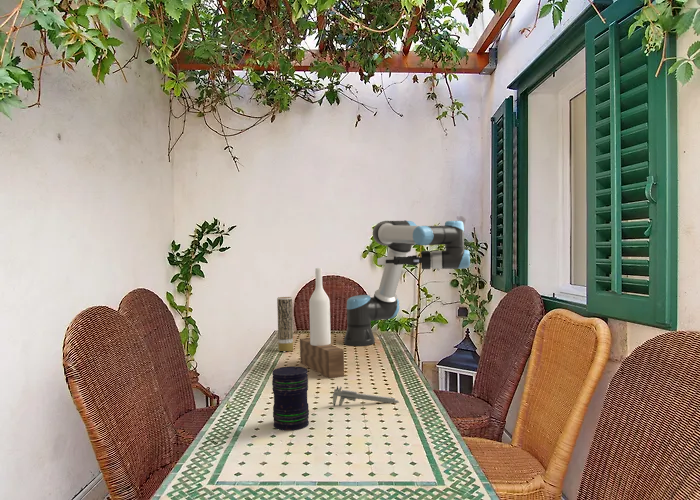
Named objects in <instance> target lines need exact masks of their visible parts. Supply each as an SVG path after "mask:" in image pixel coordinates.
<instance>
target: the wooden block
mask: <svg viewBox="0 0 700 500" xmlns="http://www.w3.org/2000/svg"><path fill="white" fill-rule="evenodd" d="M299 348H300V349H299V355H300V356H299V361H300V364H303V365H304V366H306V367H308V368H310V369H311V370H313V371H315V372H317V373H318V374H320V375H322V376H324V377H326V378H327V379H329V380H330V379H336V378H341V377H342V378H343V377H345V359H344V358H345V355H344V354H345V353H344V352H345V350H344V349H343V348H340V347H338V346H335V345H334V344H333V345H332V344H329V345H325V346H314V345H311V344H310V337H308V338H307V337H306V338H299Z"/></svg>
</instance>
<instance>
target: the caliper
mask: <svg viewBox="0 0 700 500" xmlns="http://www.w3.org/2000/svg"><path fill="white" fill-rule="evenodd" d="M338 397H340V398H339V401H338V406H339V407H341V406H342V405H343V403H344V401H345V399H347V400H348V401H354V402H356V400H357V399H358V400H365V401H372V402H373V401H374V402H378V403H380V402H381V403H388V404H394V403H400V401H399V400H398V399H396V398H394V397H387V396H383V395H382V396H379V395H372V394H366V393H358V392H357V391H353V390H346V389H342V386H340V387H339V386H338V385H336V389H335V388H334V390H333V393H332V405H333V407H336V404H337V400H338Z"/></svg>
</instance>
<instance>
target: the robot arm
mask: <svg viewBox="0 0 700 500" xmlns="http://www.w3.org/2000/svg"><path fill="white" fill-rule="evenodd" d="M464 227H465V226H464V222H463V221H462V220H448V221H445V223H444V225H417V224H416V223H415V222H414V221H412V220H383V221H380V222H378V223H377V224H376V225H375V226H374V227H373V230H372V237H373V240H374V241H375V242H376V243H377V244H378V245H381V246H387V248H388V251H387V252H388V253H387V256H380V257H378V258H377V265H378V266H384V267H383V272H382V276H381V279H380V283H379V286H378V289H376V290H375V291H374V295H373V296H370V295H369V294H359V295H353V296H351V297H348V298H347V301H346V321H347V322H346V323H347V326H346V327H347V328H346V331H345V335H344V339H343V343H344V345H346V346H352V347H362V346H365V347H366V346H370V345H374V344H376V342H375V336H374V332H373V329H372V325H371V324H372V323H371V321H381V320H383V321H384V320H390V319H394V318H396V317H397V316H398V314H399V312H400V308H401V307H400V300H399V298H398V296H397V294H396V293H397V290H398V289H397V288H398V287H399V282H400V279H401V274H402V271H403V268H404V267H403V266H404V265H408V266H417V265H419V264H420V265H421V269H422V270H430V269H432V270H436V269H437V271H440V270H441V269H442V270H449V269H450V270H458V269H459V270H460V269H461V270H462V269H468V268H470V265H471V254H470V251H469V250H468V249H465V228H464ZM416 245H417V246H436V245H438V246H439V245H440V246H441V245H444V246H445V250H431V251H430V250H422V251H421V252H420V256H417V254H416V255H413V254H412V255H408V256H407V254H409V253H410V252H411V250H412V246H416Z"/></svg>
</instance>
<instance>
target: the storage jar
mask: <svg viewBox="0 0 700 500" xmlns="http://www.w3.org/2000/svg"><path fill="white" fill-rule="evenodd" d="M271 374H272V375H271V376H272V381H271V384H272V389H271V390H272V393H273V406H272V411H273V412H272V417H273V428H274V427H275V428H274V429H277V430H278V429H279V431H283V430H284V432H286V431H287V432H290V431H291V432H293V431H299V430H303V429H305V428H308V426H309V425H310V424H309V422H310V421H309V417H310V416H309V415H310V409H309V408H310V407H309V403H308V391H309V378H308V376H309V375H308V369H307V368H306V367H303V366H295V365H293V366H292V365H290V366H282V367H278V368H275V369H273V370H272V373H271Z"/></svg>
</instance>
